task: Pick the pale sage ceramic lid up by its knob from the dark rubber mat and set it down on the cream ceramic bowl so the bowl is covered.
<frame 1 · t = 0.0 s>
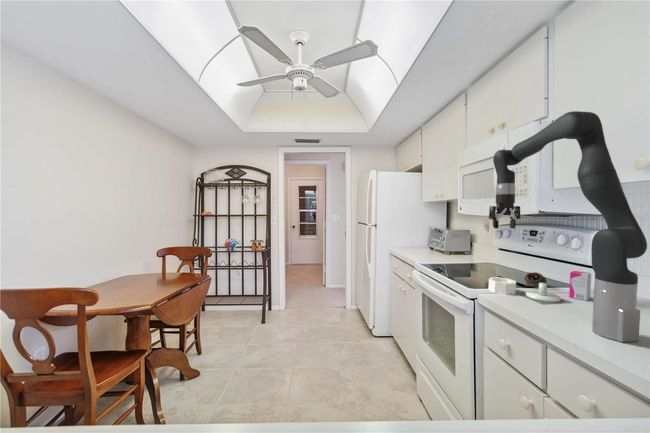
hand: (504, 228, 130), 29 cm above the worktop, fingers open, 8 cm apart
lid: (542, 297, 120), resting on mat
pottery mug: (534, 287, 138), on the worktop
supplement box: (579, 299, 120), on the worktop
mat: (542, 298, 120), on the worktop
bowl: (501, 291, 130), on the worktop
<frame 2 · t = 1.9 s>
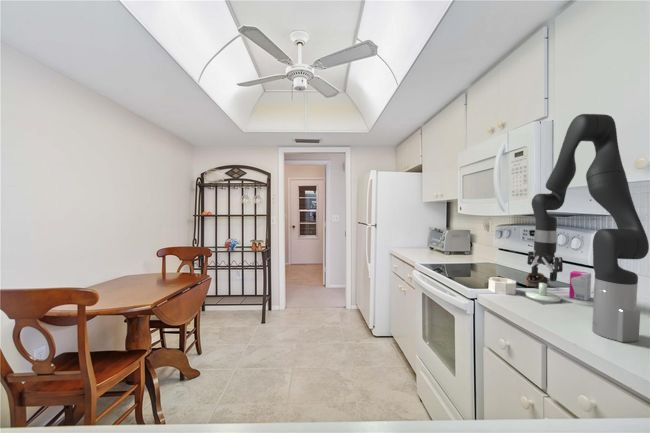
hand: (543, 278, 120), 9 cm above the worktop, fingers open, 8 cm apart
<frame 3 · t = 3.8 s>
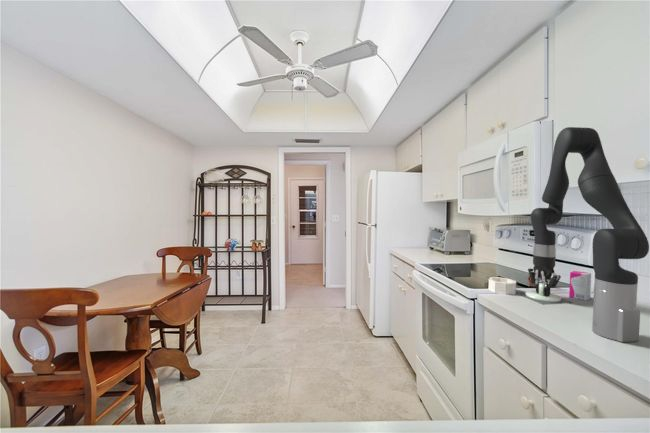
hand: (542, 294, 120), 2 cm above the worktop, fingers closed on lid, 2 cm apart
lid: (542, 297, 120), resting on mat, touching gripper
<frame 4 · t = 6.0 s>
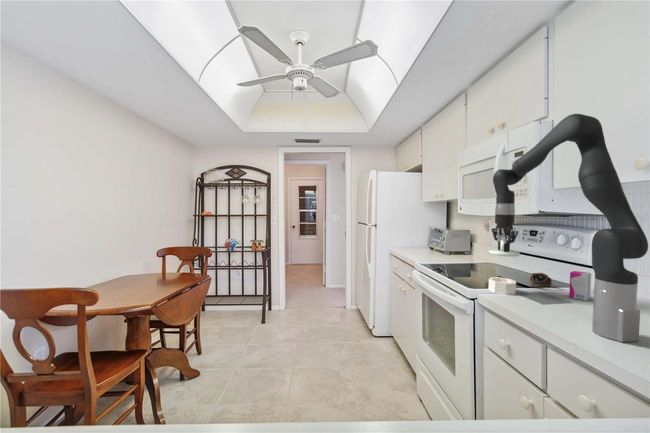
hand: (503, 250, 129), 19 cm above the worktop, fingers closed on lid, 2 cm apart
lid: (503, 253, 129), point 18 cm above the worktop, touching gripper
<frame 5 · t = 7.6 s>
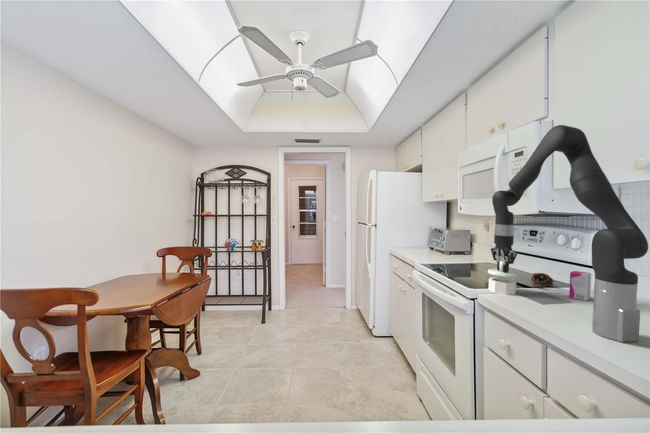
hand: (502, 271, 129), 10 cm above the worktop, fingers closed on lid, 2 cm apart
lid: (502, 274, 129), point 8 cm above the worktop, touching gripper
when the fingers open (8 cm above the worktop, at t = 8.7 s): lid drops 1 cm, resting on bowl.
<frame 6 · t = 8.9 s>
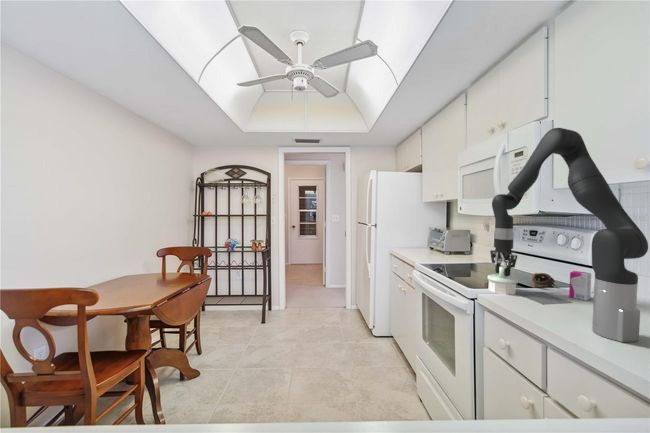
hand: (502, 274, 129), 8 cm above the worktop, fingers open, 4 cm apart
lid: (502, 280, 129), point 5 cm above the worktop, touching bowl
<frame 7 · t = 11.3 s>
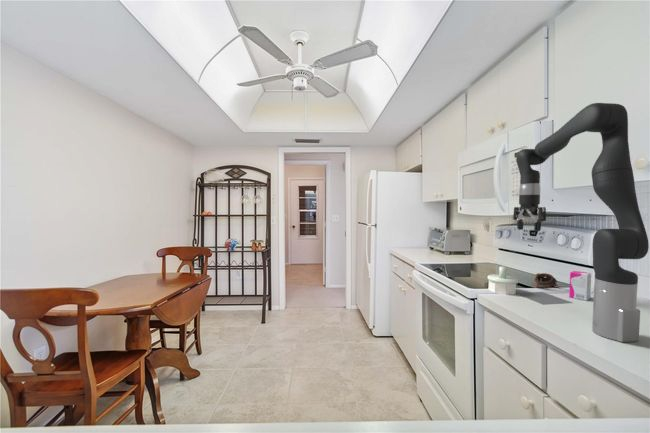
hand: (528, 230, 125), 29 cm above the worktop, fingers open, 8 cm apart
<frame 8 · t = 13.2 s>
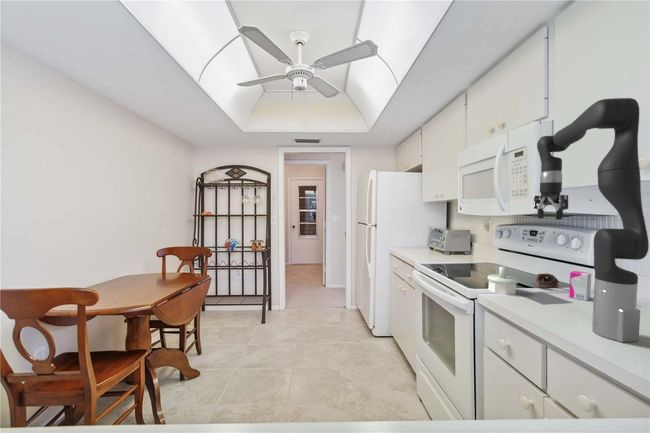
hand: (549, 218, 123), 34 cm above the worktop, fingers open, 8 cm apart
at the end: lid 0.1 cm off-centre on the bowl, point 5.4 cm above the bowl's base; lid tilted 0°; the gripper is holding nothing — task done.
